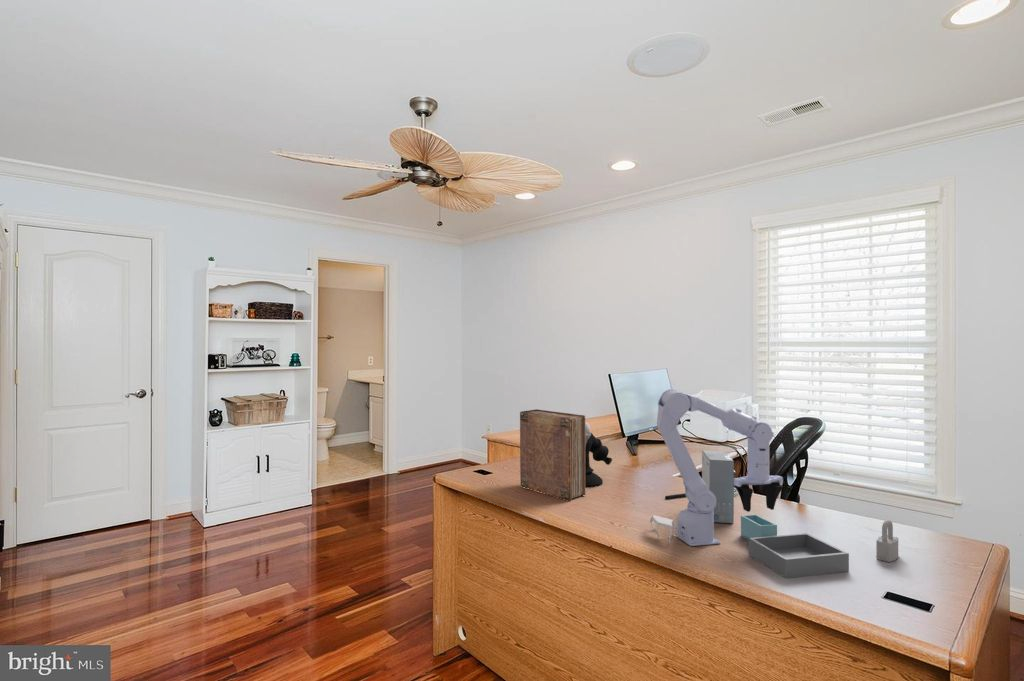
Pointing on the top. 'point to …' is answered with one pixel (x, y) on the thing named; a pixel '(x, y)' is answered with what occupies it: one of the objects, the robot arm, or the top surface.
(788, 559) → the grey crate
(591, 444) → the sculpture
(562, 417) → the book
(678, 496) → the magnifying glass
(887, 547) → the padlock
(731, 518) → the hard drive box
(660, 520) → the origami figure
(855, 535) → the top surface
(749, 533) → the teal mini crate
